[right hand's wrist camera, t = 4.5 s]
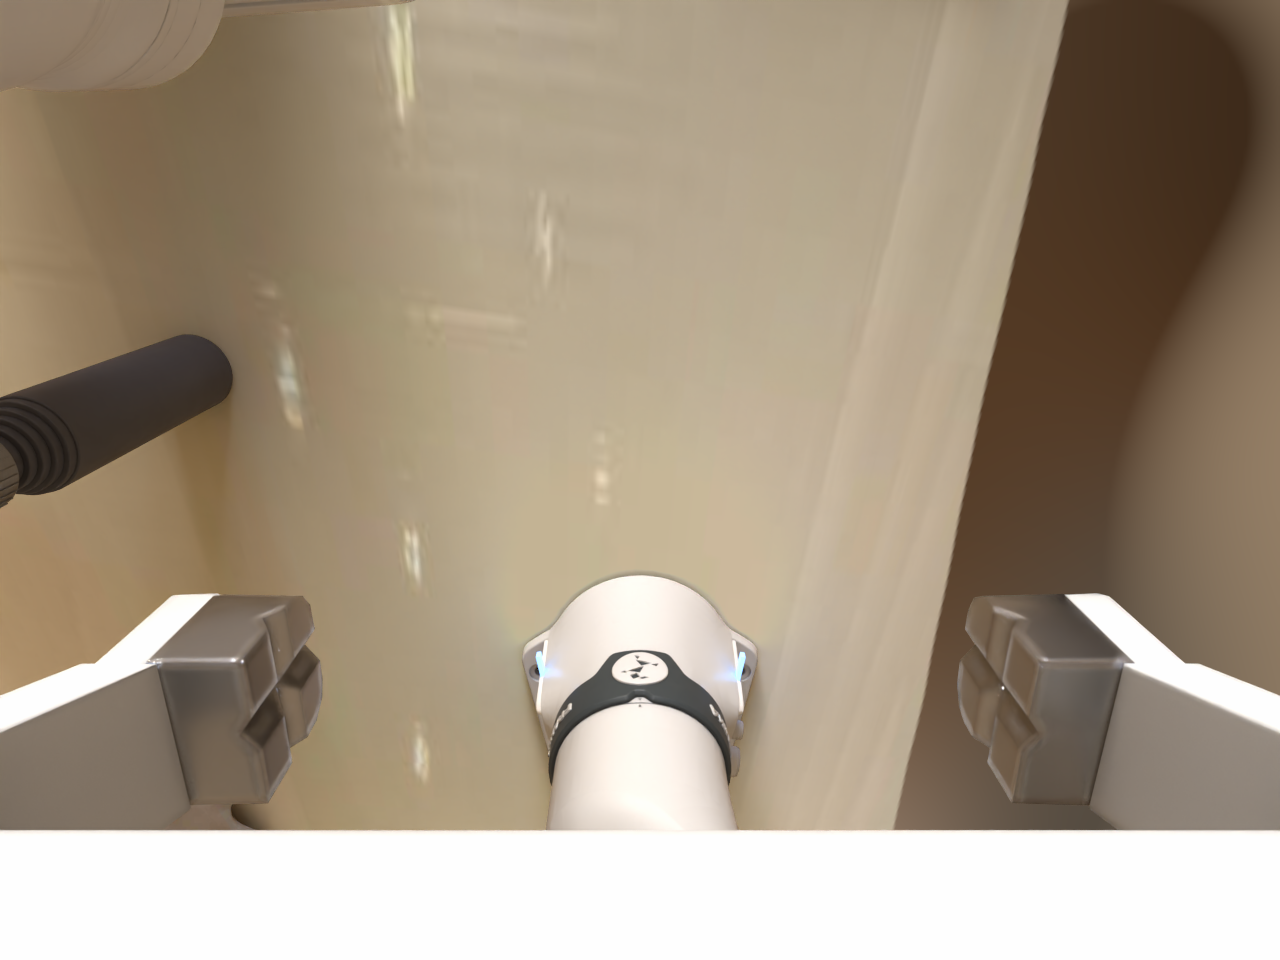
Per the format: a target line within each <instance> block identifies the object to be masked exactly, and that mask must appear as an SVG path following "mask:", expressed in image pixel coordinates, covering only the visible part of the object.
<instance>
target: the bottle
mask: <svg viewBox="0 0 1280 960" xmlns="http://www.w3.org/2000/svg"><path fill="white" fill-rule="evenodd" d="M231 385H232V370H231V367H230V364H229V361H228V360H227V358H226V356H225V355H224V353H223V352H222V351H221V350H220V349H219V348H218V347H217V346H216V345H215V344H213V343H212V342H210V341H209V340H207V339H205V338H202V337H199V336H195V335H179V336H176V337H173V338H170V339H167V340H164V341H161V342H158V343H156V344H153V345H150V346H147V347H144V348H141V349H138V350H135V351H133V352H130V353H127V354H124V355H121V356H118V357H115V358H112V359H110V360H107V361H104V362H101V363H98V364H95V365H92V366H89V367H87V368H84V369H81V370H78V371H75V372H72V373H69V374H66V375H64V376H61V377H58V378H55V379H52V380H49V381H46V382H43V383H41V384H38V385H35V386H32V387H29V388H26V389H23V390H20V391H18V392H15V393H12V394H9V395H6V396H3V397H0V443H1V444H2V445H3V446H4V447H5V448H6V449H7V450H8V452H9V453H10V454H11V456H12V457H13V459H14V461H15V463H16V466H17V469H18V473H19V485H18V489H17V492H16V494H25V495H40V494H45V493H49V492H54V491H57V490H60V489H62V488H64V487H65V486H67V485H69V484H71V483H73V482H75V481H76V480H78V479H80V478H82V477H84V476H86V475H88V474H89V473H91V472H93V471H95V470H97V469H99V468H100V467H102V466H104V465H106V464H108V463H110V462H111V461H113V460H115V459H117V458H119V457H121V456H123V455H124V454H126V453H128V452H130V451H132V450H134V449H135V448H137V447H139V446H141V445H143V444H145V443H147V442H148V441H150V440H152V439H154V438H156V437H158V436H159V435H161V434H163V433H165V432H167V431H169V430H171V429H172V428H174V427H176V426H178V425H180V424H182V423H183V422H185V421H187V420H189V419H191V418H193V417H194V416H196V415H198V414H200V413H202V412H204V411H206V410H207V409H209V408H211V407H213V406H215V405H217V404H218V403H220V402H221V401H223V400H224V399H225V398H226V396H227V395H228V393H229V391H230V389H231Z"/></svg>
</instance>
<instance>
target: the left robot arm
mask: <svg viewBox="0 0 1280 960" xmlns="http://www.w3.org/2000/svg"><path fill="white" fill-rule="evenodd" d="M411 1H414V0H0V92H1V91H5V90H9V89H13V88H16V87H18V88H23V89H28V90H35V91H45V92H70V91H103V90H132V89H142V88H147V87H151V86H156V85H158V84H161V83H164V82H167V81H169V80H171V79H173V78H175V77H177V76H179V75H180V74H181V73H183V72H184V71H186V70H187V69H188V68H190V67H191V66H192V65H193V64H194V63H195V62H196V61H197V60H198V59H199V58H200V57H201V56H202V54H203V53H204V52H205V51H206V49H207V48H208V46H209V45H210V43H211V41H212V39H213V37H214V35H215V33H216V31H217V29H218V26H219V23H220V21H221V18H222V17H236V16H250V15H263V14H277V13H290V12H304V11H317V10H331V9H344V8H358V7H372V6H385V5H396V4H403V3H408V2H411Z"/></svg>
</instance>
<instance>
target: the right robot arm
mask: <svg viewBox="0 0 1280 960" xmlns="http://www.w3.org/2000/svg"><path fill="white" fill-rule="evenodd" d="M314 629H315V627H314V622H313V617H312V612H311V607H310V604H309V603H308V602H307V601H306V600H305V598H304V597H303V596H278V595H220V594H185V595H172V596H171V597H170V598H169V599H168V600H166V601H165V602H164V603H163V604H162V605H161V606H160V607H159V608H157V609H156V610H155V611H154V612H153V613H152V614H151V615H150V616H148V617H147V618H146V619H145V620H144V621H143V622H142V623H140V624H139V625H138V626H137V627H136V628H135V629H134V630H133V631H131V632H130V633H129V634H128V635H127V636H126V637H125V638H124V639H122V640H121V641H120V642H119V643H118V644H117V645H116V646H114V647H113V648H112V649H111V650H110V651H109V652H108V653H107V654H105V655H104V656H103V657H102V658H101V659H100V660H99V661H97V662H96V663H95V664H79V665H77V666H74V667H72V668H69V669H67V670H64V671H62V672H59V673H57V674H54V675H52V676H49V677H46V678H44V679H41V680H39V681H36V682H34V683H31V684H29V685H26V686H24V687H21V688H18V689H16V690H13V691H11V692H8V693H6V694H3V695H1V696H0V960H1280V696H1279V695H1277V694H1274V693H1271V692H1269V691H1266V690H1264V689H1261V688H1259V687H1256V686H1254V685H1251V684H1249V683H1246V682H1244V681H1241V680H1239V679H1236V678H1233V677H1231V676H1228V675H1226V674H1223V673H1221V672H1218V671H1216V670H1213V669H1211V668H1208V667H1206V666H1203V665H1201V664H1185V663H1184V662H1183V661H1181V660H1180V659H1179V658H1178V657H1177V656H1176V655H1175V654H1174V653H1172V652H1171V651H1170V650H1169V649H1168V648H1167V647H1166V646H1165V645H1163V644H1162V643H1161V642H1160V641H1159V640H1158V639H1157V638H1156V637H1154V636H1153V635H1152V634H1151V633H1150V632H1149V631H1148V630H1146V629H1145V628H1144V627H1143V626H1142V625H1141V624H1140V623H1138V622H1137V621H1136V620H1135V619H1134V618H1133V617H1132V616H1131V615H1130V614H1128V613H1127V612H1126V611H1125V610H1124V609H1123V608H1122V607H1121V606H1119V605H1118V604H1117V603H1116V602H1115V601H1114V600H1113V599H1112V598H1110V597H1109V596H1106V595H1102V594H1098V593H1095V594H1073V595H1064V594H1050V595H1008V596H982V597H977V598H974V599H973V601H972V604H971V606H970V608H969V610H968V616H967V622H966V627H965V629H966V631H967V632H968V634H969V635H970V637H971V639H972V640H973V641H974V643H975V645H974V647H973V648H972V649H971V650H970V651H969V652H968V653H967V654H966V655H965V656H964V657H963V658H962V659H961V660H960V666H959V674H958V682H957V687H958V698H959V707H960V710H961V713H962V716H963V719H964V722H965V724H966V726H967V728H968V730H969V731H970V733H971V735H972V737H974V738H975V739H977V740H978V741H980V742H982V743H983V744H985V745H987V746H988V747H990V752H989V758H988V764H989V765H990V767H991V769H992V770H993V772H994V774H995V775H996V777H997V779H998V780H999V782H1000V784H1001V785H1002V787H1003V789H1004V790H1005V792H1006V794H1007V795H1008V797H1009V799H1010V800H1011V802H1012V803H1026V804H1063V805H1090V806H1089V809H1090V810H1092V811H1093V812H1094V813H1096V814H1097V815H1098V816H1100V817H1101V818H1103V819H1104V820H1105V821H1107V822H1108V823H1109V824H1111V825H1112V826H1113V827H1115V828H1116V829H1117V830H738V827H737V823H736V819H735V816H734V811H733V807H732V803H731V798H730V792H729V787H728V786H729V783H730V777H735V776H737V774H738V771H739V766H740V750H739V748H738V747H737V746H734V742H735V739H736V740H741V739H742V737H743V732H744V724H743V721H741V718H742V715H743V711H744V708H745V704H746V701H747V697H748V694H749V690H750V687H751V684H752V680H753V677H754V673H755V670H756V666H757V662H758V653H757V649H756V647H755V646H754V644H753V643H751V642H750V641H749V640H747V639H746V638H744V637H743V636H741V635H739V634H738V633H736V632H734V631H732V630H731V629H730V628H728V627H727V625H726V624H725V623H724V622H723V620H722V619H721V618H720V616H719V615H718V613H717V612H716V611H715V609H714V608H713V607H712V606H711V605H710V604H709V603H708V602H707V601H706V600H705V599H704V598H703V597H702V596H700V595H699V594H698V593H696V592H695V591H693V590H692V589H690V588H688V587H686V586H684V585H682V584H680V583H677V582H675V581H672V580H669V579H665V578H661V577H655V576H642V575H638V576H625V577H619V578H615V579H611V580H608V581H605V582H603V583H600V584H598V585H596V586H594V587H592V588H590V589H588V590H587V591H585V592H584V593H582V594H581V595H580V596H578V597H577V598H576V599H575V600H574V601H573V602H572V603H571V604H570V605H569V606H568V607H567V608H566V609H565V611H564V612H563V613H562V615H561V616H560V618H559V619H558V620H557V622H556V623H555V624H554V625H553V627H552V628H551V629H550V630H548V631H546V632H544V633H542V634H541V635H539V636H537V637H536V638H534V639H533V640H531V641H530V642H529V643H527V645H526V646H525V647H524V649H523V654H522V662H523V666H524V670H525V673H526V677H527V680H528V683H529V687H530V690H531V694H532V697H533V701H534V704H535V708H536V711H537V715H538V718H539V721H540V725H541V728H542V732H543V735H544V739H545V742H546V746H547V749H548V757H549V777H550V783H551V786H552V789H551V796H550V803H549V810H548V817H547V824H546V830H163V829H164V828H166V827H167V826H168V825H170V824H171V823H172V822H174V821H175V820H176V819H178V818H179V817H181V816H182V815H183V814H185V813H186V812H187V811H189V810H190V809H191V806H190V805H216V804H252V803H268V802H269V800H270V799H271V797H272V795H273V794H274V792H275V790H276V789H277V787H278V785H279V784H280V782H281V780H282V779H283V777H284V775H285V774H286V772H287V770H288V769H289V767H290V765H291V764H292V758H291V752H290V747H292V746H294V745H295V744H297V743H298V742H300V741H302V740H303V739H305V738H307V737H308V735H309V733H310V731H311V730H312V728H313V726H314V724H315V722H316V721H317V717H318V712H319V708H320V704H321V700H322V672H321V665H320V660H319V659H318V658H317V657H316V656H315V655H314V654H313V653H312V652H311V651H310V650H309V649H308V648H307V647H306V645H305V643H306V642H307V640H308V639H309V637H310V635H311V634H312V632H313V631H314ZM537 667H538V668H539V670H538V669H537Z"/></svg>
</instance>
